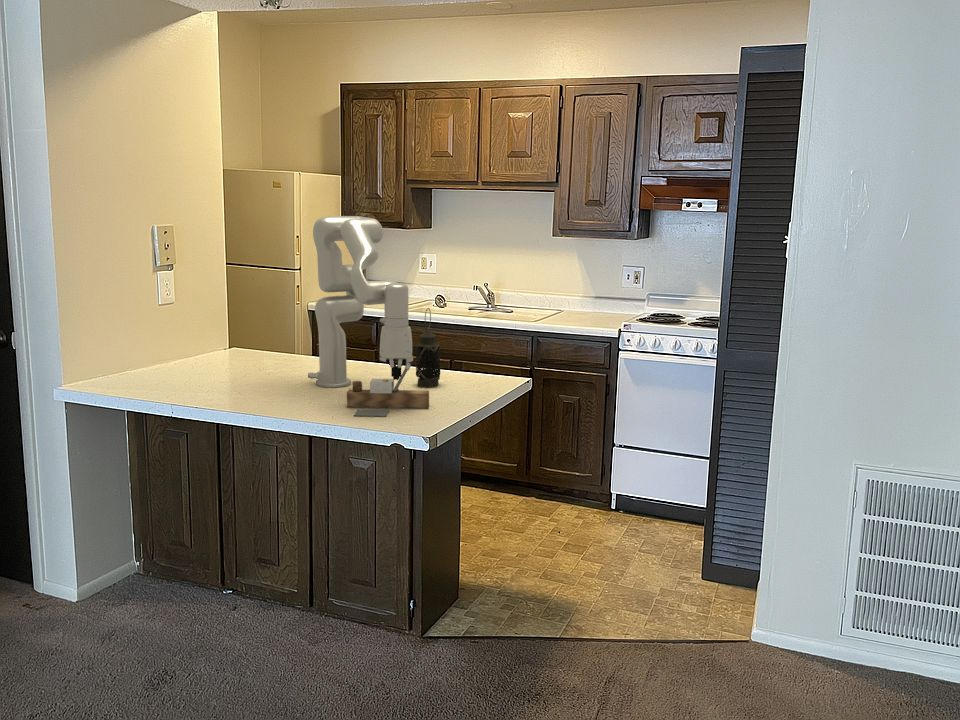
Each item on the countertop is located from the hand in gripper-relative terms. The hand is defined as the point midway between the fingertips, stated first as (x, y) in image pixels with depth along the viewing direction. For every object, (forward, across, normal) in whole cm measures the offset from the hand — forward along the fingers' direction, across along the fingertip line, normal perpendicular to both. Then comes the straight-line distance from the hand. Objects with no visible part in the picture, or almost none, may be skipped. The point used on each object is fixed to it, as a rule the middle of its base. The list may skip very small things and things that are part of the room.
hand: (396, 378), depth 273 cm
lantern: (+10, +7, +32) cm, 34 cm away
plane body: (+9, -2, 0) cm, 10 cm away
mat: (+9, -6, -10) cm, 15 cm away
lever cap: (+4, -5, 0) cm, 6 cm away
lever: (+3, 0, 0) cm, 3 cm away
